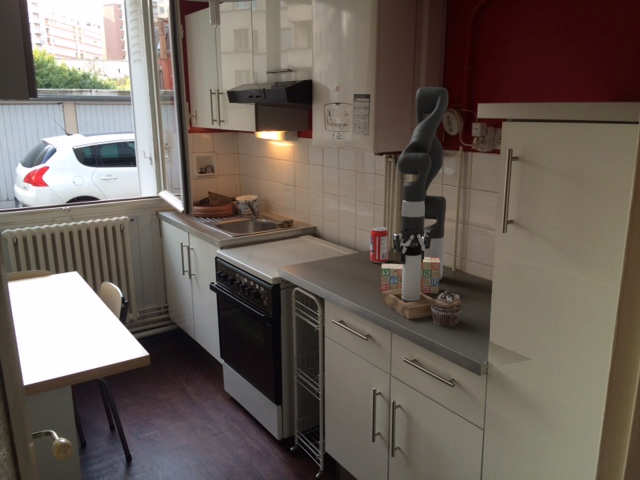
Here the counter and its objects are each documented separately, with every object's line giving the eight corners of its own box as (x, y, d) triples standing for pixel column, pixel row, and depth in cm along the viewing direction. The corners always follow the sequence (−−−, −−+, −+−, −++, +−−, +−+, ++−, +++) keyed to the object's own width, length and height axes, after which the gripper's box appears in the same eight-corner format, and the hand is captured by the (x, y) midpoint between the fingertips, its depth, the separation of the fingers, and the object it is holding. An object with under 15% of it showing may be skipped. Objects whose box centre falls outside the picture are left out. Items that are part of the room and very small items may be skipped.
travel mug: (397, 300, 189) (398, 244, 184) (409, 296, 193) (411, 240, 188) (411, 305, 184) (412, 247, 179) (423, 300, 188) (425, 244, 183)
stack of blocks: (380, 291, 206) (381, 260, 203) (381, 286, 212) (381, 255, 209) (438, 293, 203) (440, 261, 200) (437, 288, 209) (439, 257, 206)
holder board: (382, 301, 195) (382, 291, 194) (411, 297, 200) (411, 286, 199) (408, 319, 179) (408, 308, 178) (439, 314, 183) (440, 302, 182)
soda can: (383, 264, 240) (384, 231, 236) (367, 262, 244) (367, 229, 240) (390, 260, 246) (391, 227, 243) (374, 258, 250) (375, 226, 247)
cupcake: (439, 313, 184) (440, 285, 181) (466, 320, 178) (467, 291, 175) (424, 322, 177) (425, 292, 174) (451, 330, 171) (453, 299, 168)
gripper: (425, 210, 187) (423, 257, 191) (388, 213, 182) (387, 262, 186) (438, 213, 181) (436, 262, 185) (399, 217, 175) (398, 267, 179)
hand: (411, 262), depth 185 cm, fingers closed on travel mug, 6 cm apart
